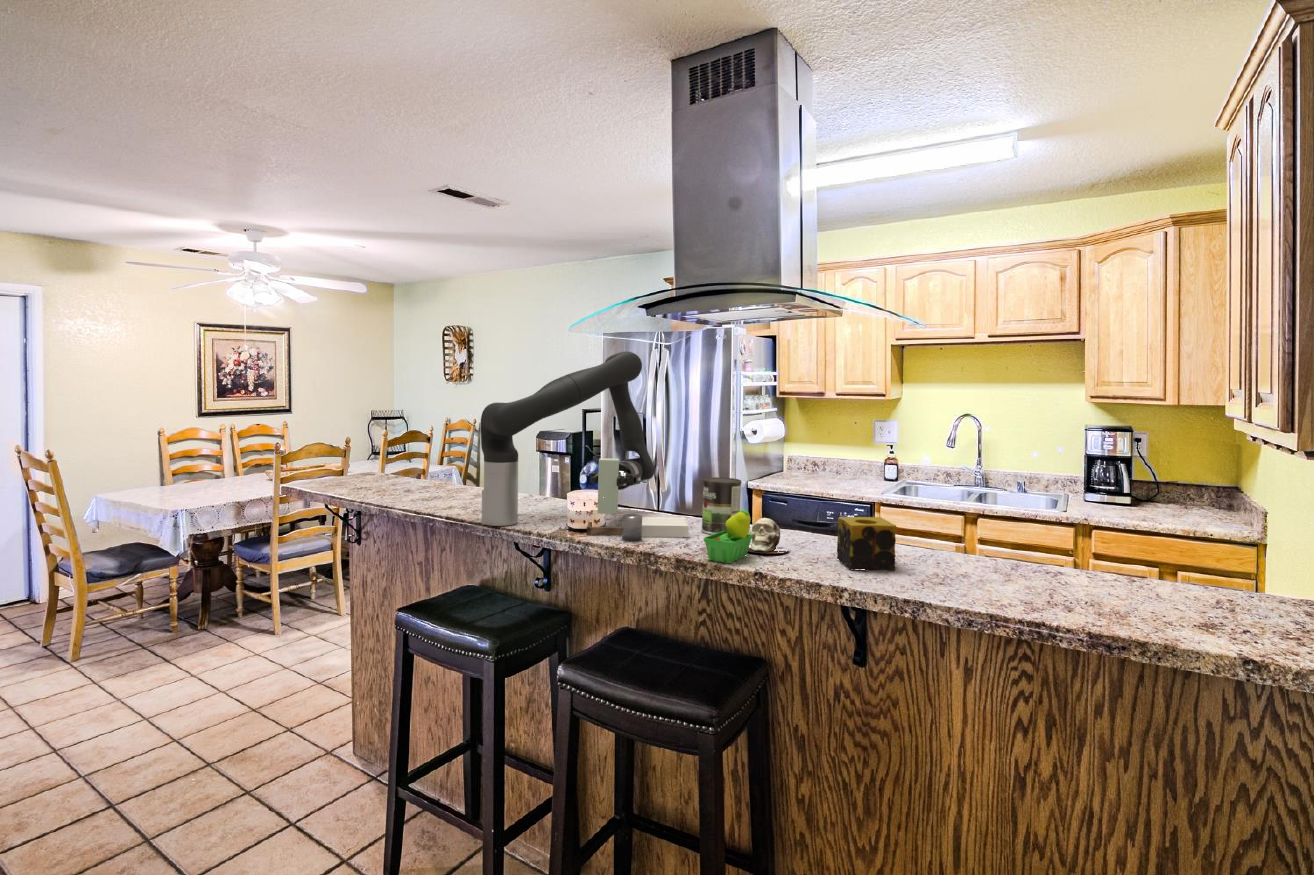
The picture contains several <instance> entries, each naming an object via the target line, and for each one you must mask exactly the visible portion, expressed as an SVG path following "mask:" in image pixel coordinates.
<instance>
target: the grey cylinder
mask: <svg viewBox="0 0 1314 875" xmlns="http://www.w3.org/2000/svg"><path fill="white" fill-rule="evenodd" d="M621 517H622V519H621V521H622V522H621V523H622V524H621V527H622V536H621V541H622V542H630V543H635V542H641V541H642V539H643V537H642V517H643V515H642V514H638V513H636V514H635V513H628V514H627V513H626V514H623V515H622V516H621Z"/></svg>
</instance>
